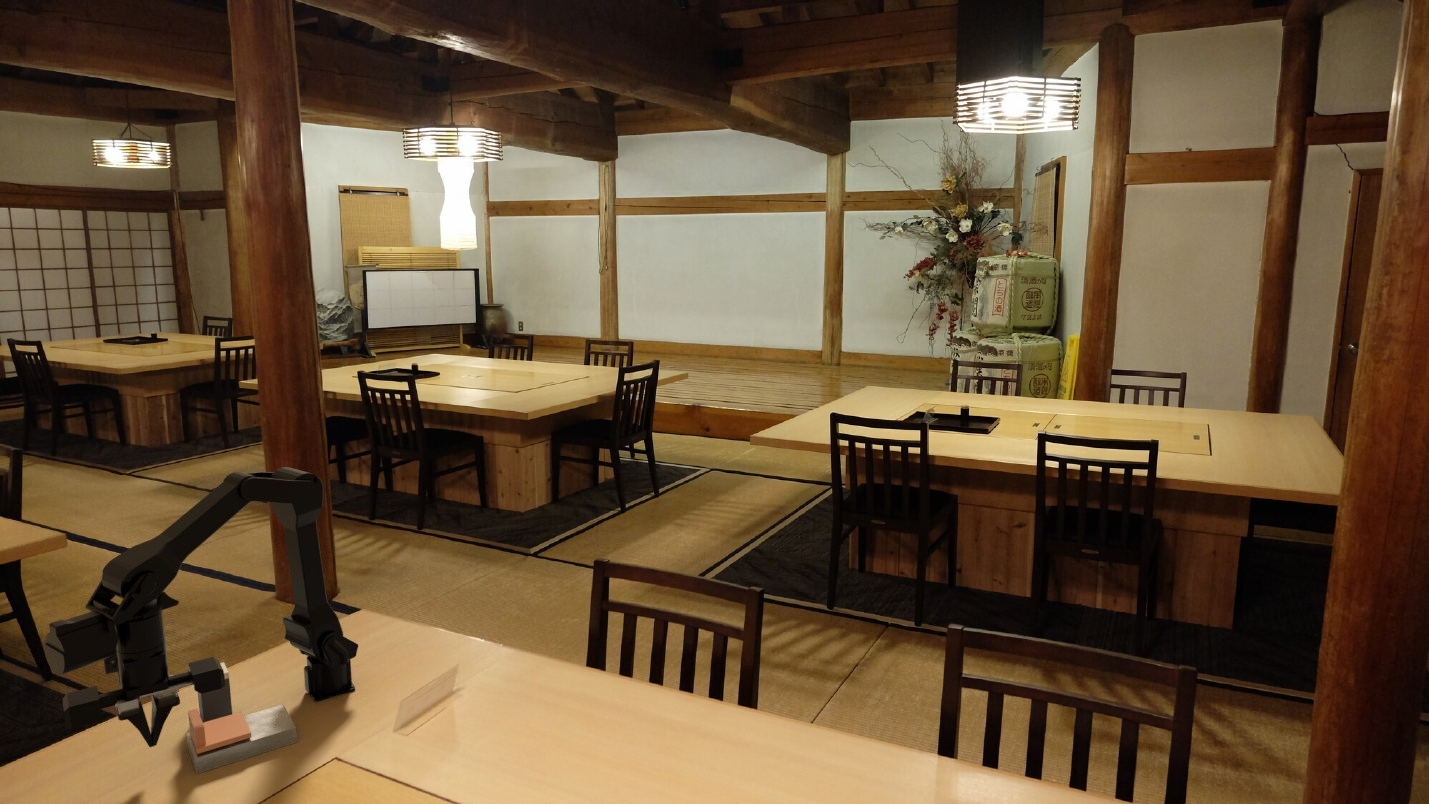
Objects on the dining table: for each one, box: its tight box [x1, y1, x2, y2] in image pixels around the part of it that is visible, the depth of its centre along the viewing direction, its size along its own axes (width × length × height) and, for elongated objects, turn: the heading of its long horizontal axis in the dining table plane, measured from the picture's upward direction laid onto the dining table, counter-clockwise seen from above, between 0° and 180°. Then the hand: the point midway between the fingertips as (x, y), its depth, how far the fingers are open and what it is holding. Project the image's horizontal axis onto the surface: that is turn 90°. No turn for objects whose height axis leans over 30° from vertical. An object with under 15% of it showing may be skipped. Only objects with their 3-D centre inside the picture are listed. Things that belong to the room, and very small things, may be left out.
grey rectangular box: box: [185, 704, 298, 775], centre depth 131 cm, size 13×8×2 cm, turn 129°
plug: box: [197, 662, 233, 723], centre depth 138 cm, size 4×4×8 cm
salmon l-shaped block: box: [187, 708, 251, 754], centre depth 128 cm, size 7×7×4 cm
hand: (152, 745), depth 123 cm, fingers closed
